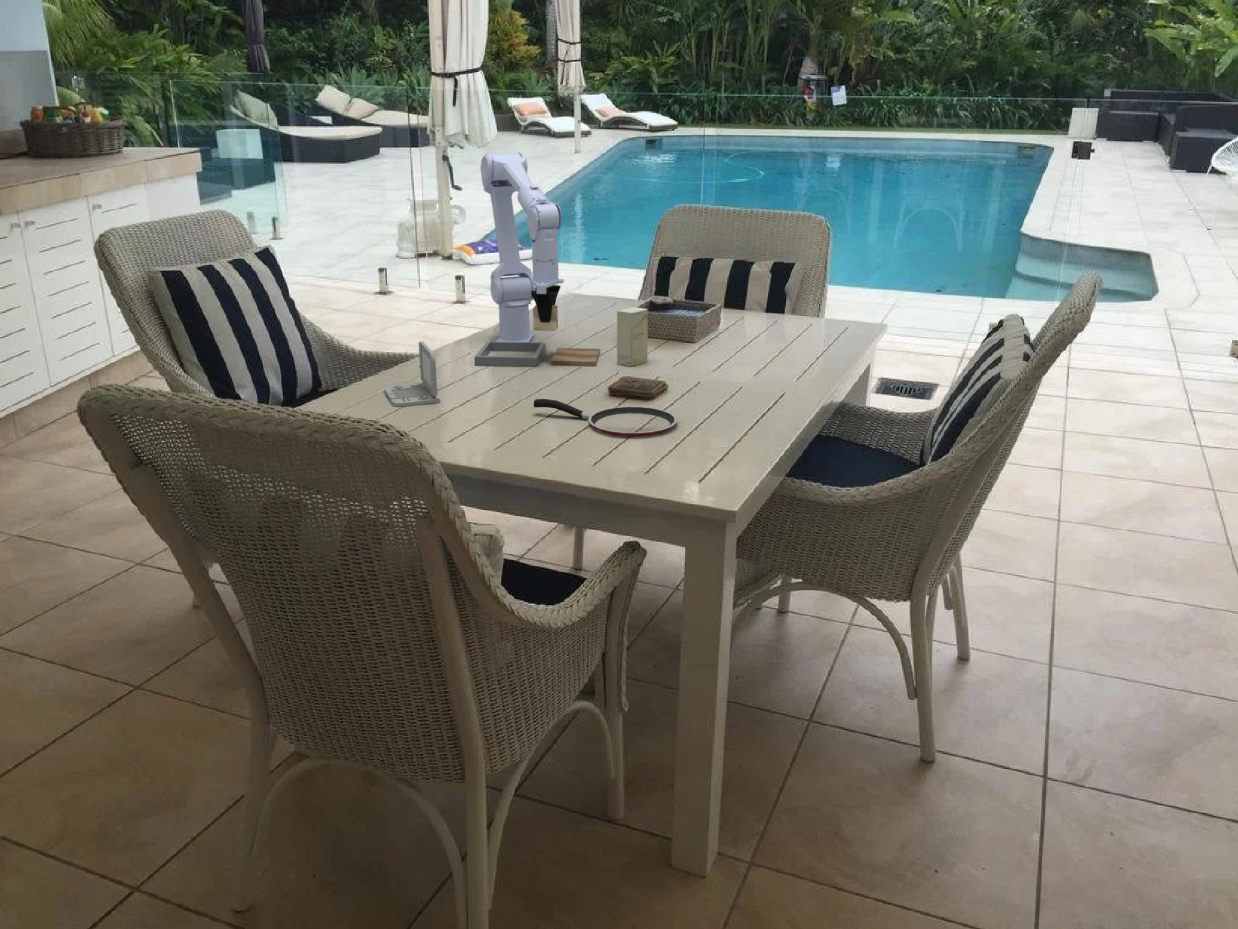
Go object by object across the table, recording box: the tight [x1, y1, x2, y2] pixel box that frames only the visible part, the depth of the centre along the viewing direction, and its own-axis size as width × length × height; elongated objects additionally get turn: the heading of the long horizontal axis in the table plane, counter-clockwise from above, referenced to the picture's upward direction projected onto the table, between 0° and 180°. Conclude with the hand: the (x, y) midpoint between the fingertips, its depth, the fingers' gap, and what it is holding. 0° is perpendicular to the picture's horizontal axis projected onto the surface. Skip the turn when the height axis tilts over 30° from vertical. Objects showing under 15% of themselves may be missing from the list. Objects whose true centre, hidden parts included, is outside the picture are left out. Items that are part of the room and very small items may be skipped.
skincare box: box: [616, 306, 649, 367], centre depth 236 cm, size 6×4×12 cm
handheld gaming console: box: [383, 341, 441, 408], centre depth 211 cm, size 13×9×10 cm
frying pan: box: [533, 398, 678, 438], centre depth 197 cm, size 28×16×3 cm, turn 72°
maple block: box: [532, 304, 559, 332], centre depth 239 cm, size 4×5×5 cm
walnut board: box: [550, 347, 601, 367], centre depth 241 cm, size 12×10×1 cm
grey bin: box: [473, 340, 547, 368], centre depth 242 cm, size 15×14×2 cm
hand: (546, 319), depth 239 cm, fingers closed on maple block, 4 cm apart
